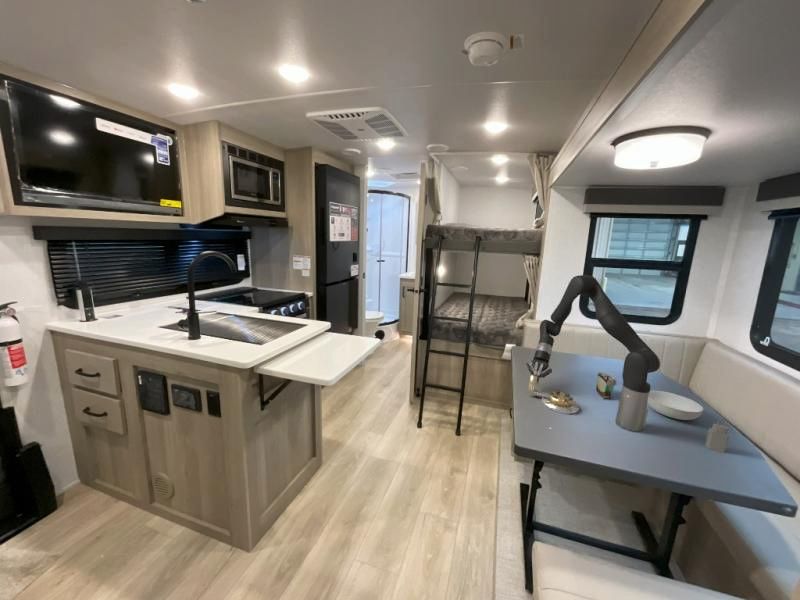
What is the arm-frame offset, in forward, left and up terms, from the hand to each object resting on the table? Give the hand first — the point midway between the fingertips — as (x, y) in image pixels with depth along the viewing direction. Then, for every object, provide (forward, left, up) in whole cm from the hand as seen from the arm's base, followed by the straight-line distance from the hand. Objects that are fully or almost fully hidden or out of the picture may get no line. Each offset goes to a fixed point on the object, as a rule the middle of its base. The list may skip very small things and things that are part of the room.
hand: (534, 382), depth 163 cm
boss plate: (-8, +12, -5) cm, 15 cm away
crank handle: (-4, +9, -4) cm, 10 cm away
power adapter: (-55, +39, -6) cm, 68 cm away
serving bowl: (-59, +13, -6) cm, 61 cm away
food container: (-38, -2, -6) cm, 39 cm away
